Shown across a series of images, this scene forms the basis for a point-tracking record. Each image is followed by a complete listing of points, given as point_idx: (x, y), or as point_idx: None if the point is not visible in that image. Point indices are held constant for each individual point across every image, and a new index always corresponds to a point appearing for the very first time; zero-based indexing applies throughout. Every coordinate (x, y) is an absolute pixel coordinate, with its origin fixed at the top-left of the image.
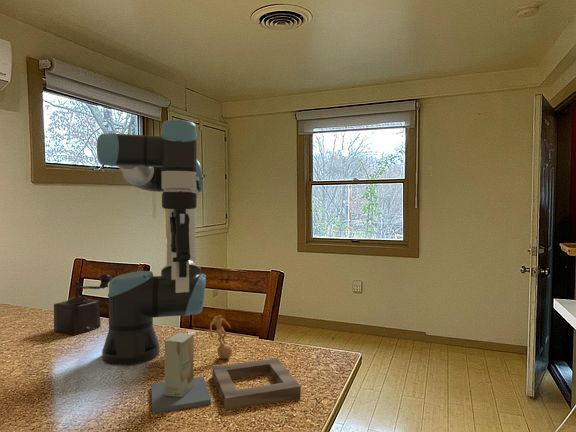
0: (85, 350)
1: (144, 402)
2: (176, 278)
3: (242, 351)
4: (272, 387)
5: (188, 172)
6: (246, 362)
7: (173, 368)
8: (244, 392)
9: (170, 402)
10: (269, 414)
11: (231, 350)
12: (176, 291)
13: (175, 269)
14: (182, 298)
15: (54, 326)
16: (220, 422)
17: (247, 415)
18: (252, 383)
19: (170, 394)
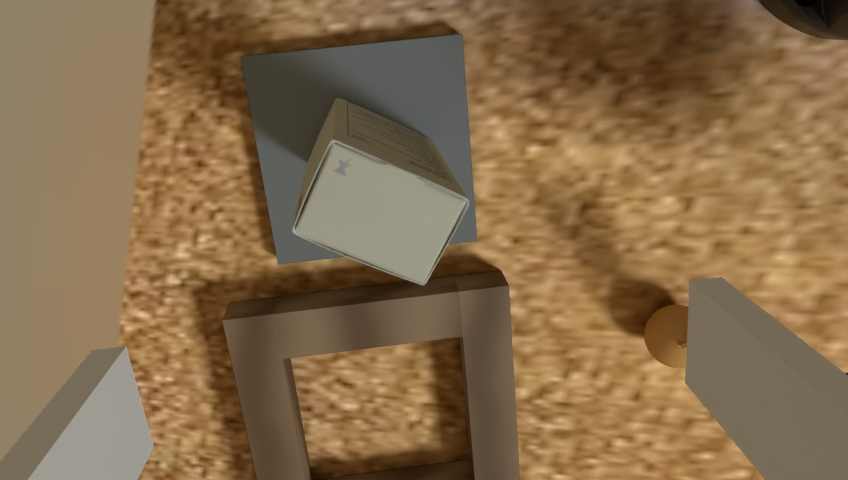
0: None
1: (340, 16)
2: (27, 437)
3: None
4: (278, 469)
5: None
6: (512, 409)
7: (314, 156)
8: (256, 382)
9: (281, 122)
10: (184, 424)
11: (663, 363)
12: (87, 362)
13: (744, 369)
14: None
15: None
16: (154, 283)
17: (187, 363)
18: (407, 399)
19: (324, 122)
